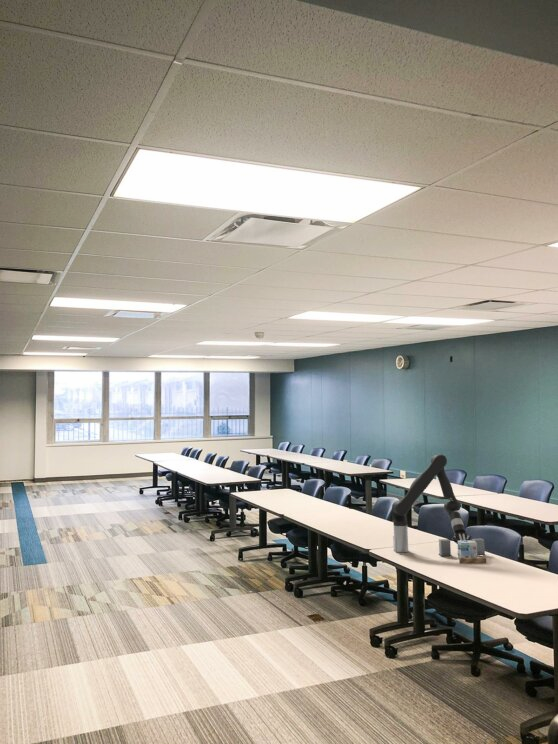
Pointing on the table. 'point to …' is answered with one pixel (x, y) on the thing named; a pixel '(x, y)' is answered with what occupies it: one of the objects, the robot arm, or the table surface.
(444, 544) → the block
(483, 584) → the table surface
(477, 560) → the walnut stop
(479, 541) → the block
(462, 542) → the light bulb box
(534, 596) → the table surface
